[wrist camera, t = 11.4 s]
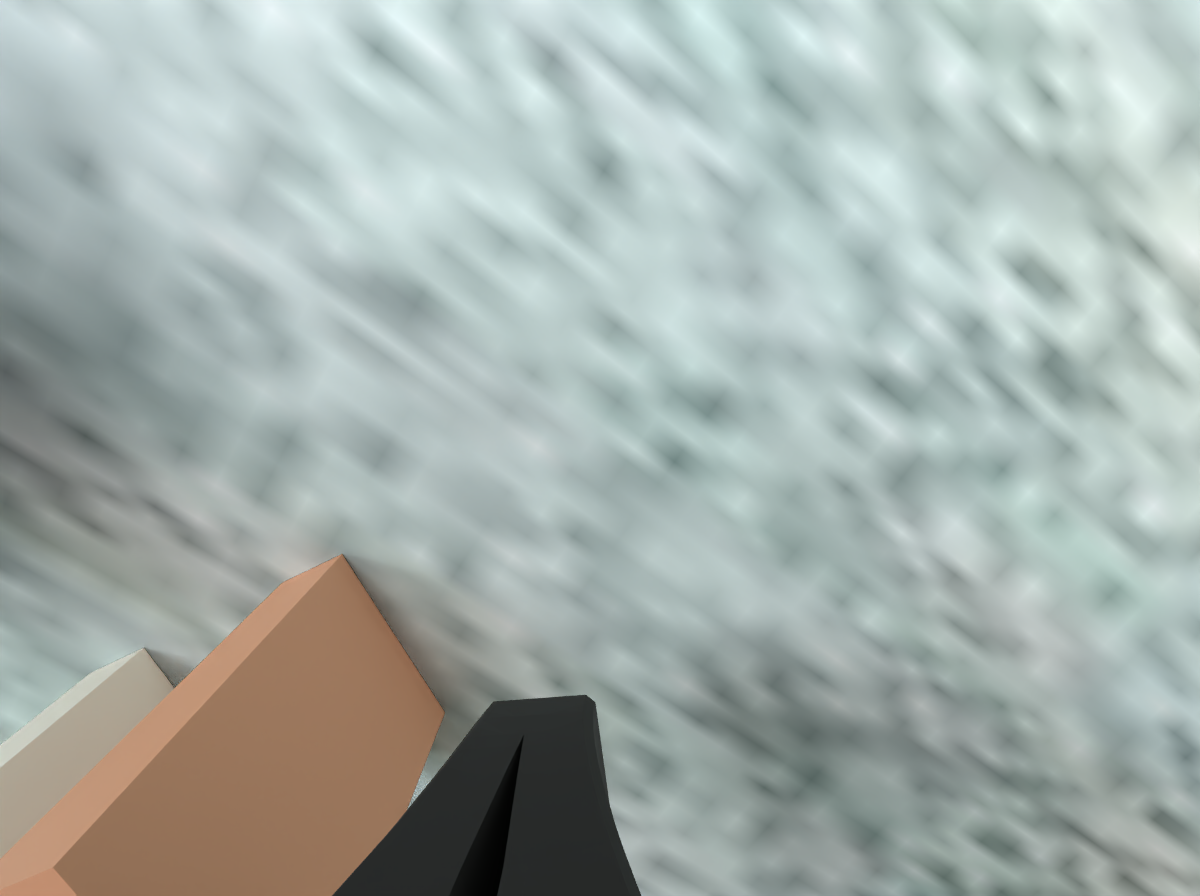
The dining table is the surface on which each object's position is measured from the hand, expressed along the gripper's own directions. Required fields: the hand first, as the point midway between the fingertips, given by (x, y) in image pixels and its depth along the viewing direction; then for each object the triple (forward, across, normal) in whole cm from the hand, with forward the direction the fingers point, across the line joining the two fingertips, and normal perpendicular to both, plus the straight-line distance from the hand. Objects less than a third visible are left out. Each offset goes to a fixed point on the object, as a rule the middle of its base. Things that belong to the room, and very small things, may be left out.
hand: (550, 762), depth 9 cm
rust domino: (+6, +5, +2) cm, 8 cm away
